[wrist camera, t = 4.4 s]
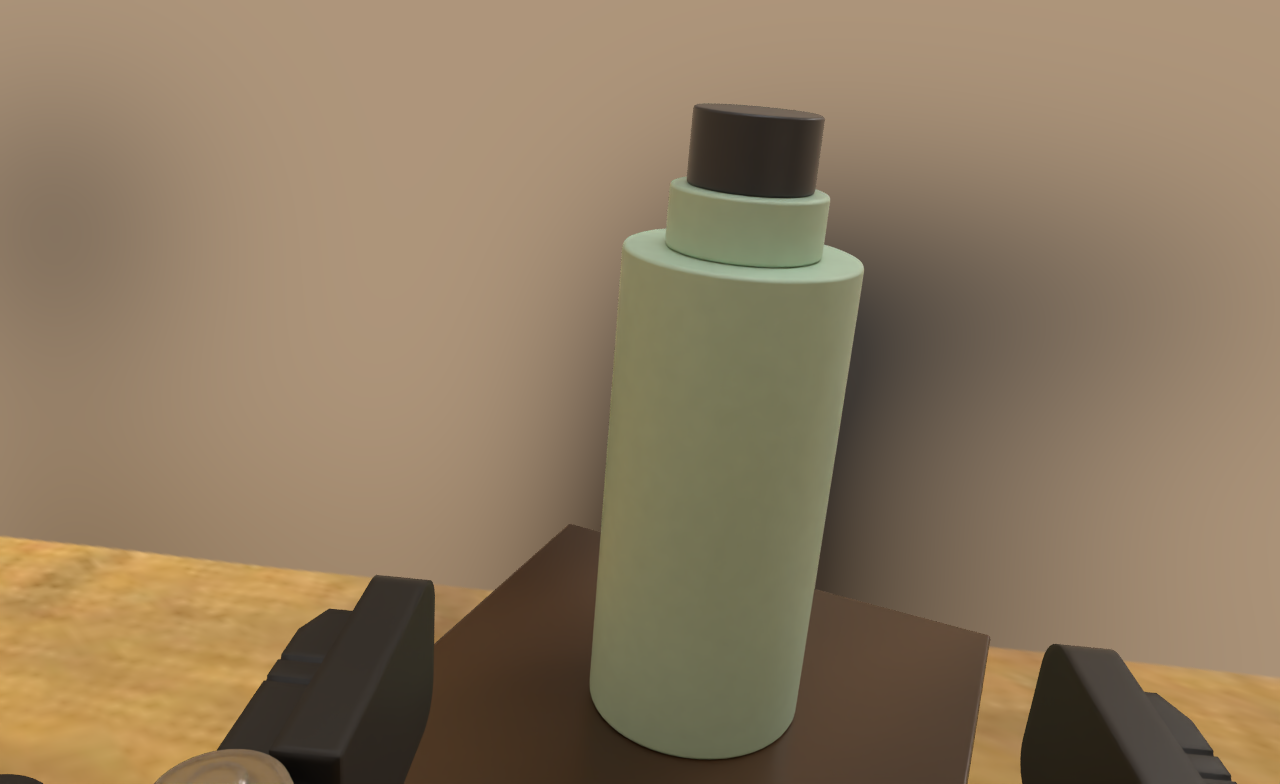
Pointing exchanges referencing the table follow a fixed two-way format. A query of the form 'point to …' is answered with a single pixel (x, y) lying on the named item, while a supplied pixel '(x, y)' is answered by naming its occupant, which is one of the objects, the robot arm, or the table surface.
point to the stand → (649, 780)
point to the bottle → (722, 441)
